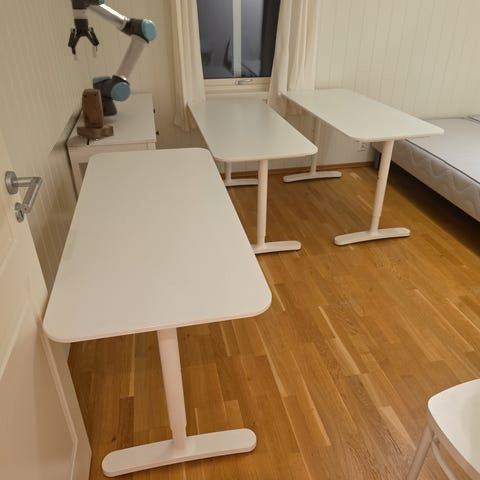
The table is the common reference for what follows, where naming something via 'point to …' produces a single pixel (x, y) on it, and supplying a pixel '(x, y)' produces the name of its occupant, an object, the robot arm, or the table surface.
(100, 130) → the walnut base
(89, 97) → the block
